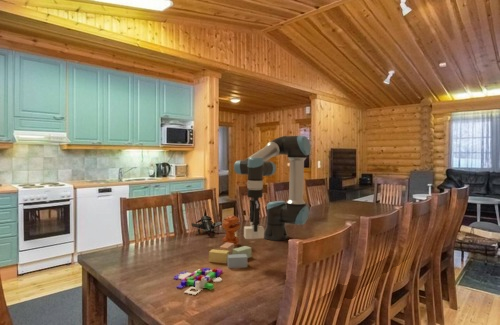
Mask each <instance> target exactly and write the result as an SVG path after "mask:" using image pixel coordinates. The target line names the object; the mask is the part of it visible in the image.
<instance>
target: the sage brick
mask: <svg viewBox="0 0 500 325" xmlns="http://www.w3.org/2000/svg"><path fill="white" fill-rule="evenodd" d="M235 254H246V255H247V259H250V258H252V247H250V246H247V245H244V246H240V247H236V248H235V247H234V249H232V254H231V255H235Z"/></svg>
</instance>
